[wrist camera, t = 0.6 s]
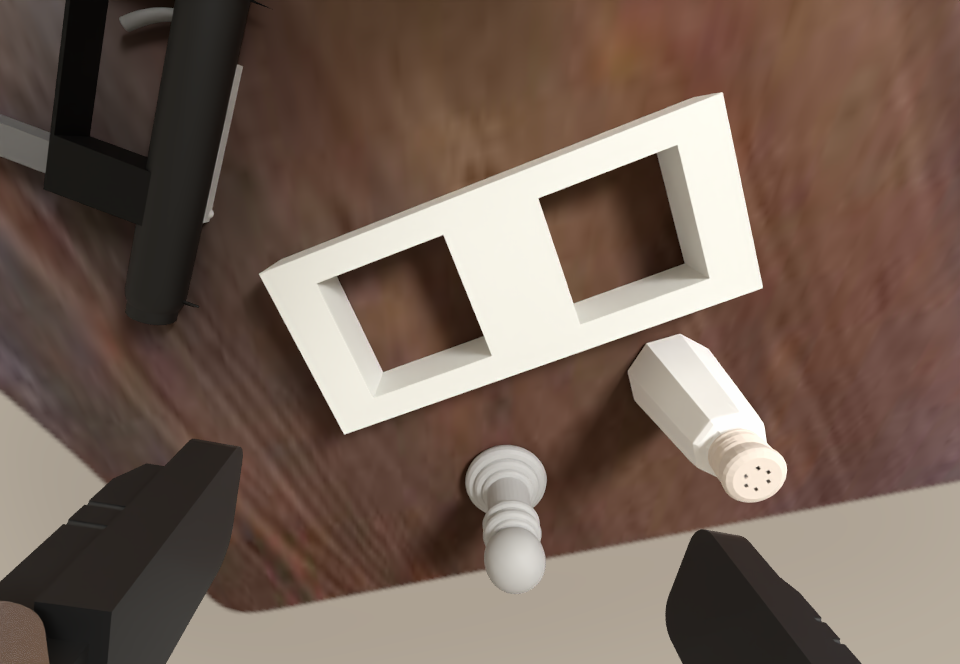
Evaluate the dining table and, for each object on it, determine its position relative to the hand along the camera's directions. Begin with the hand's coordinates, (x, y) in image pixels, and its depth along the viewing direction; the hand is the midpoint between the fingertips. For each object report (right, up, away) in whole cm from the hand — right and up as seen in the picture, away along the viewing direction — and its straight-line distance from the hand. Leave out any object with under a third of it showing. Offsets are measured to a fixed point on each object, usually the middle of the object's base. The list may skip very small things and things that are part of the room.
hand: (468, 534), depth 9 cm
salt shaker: (+12, +1, +25) cm, 27 cm away
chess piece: (+2, -6, +27) cm, 28 cm away
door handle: (-20, +16, +19) cm, 32 cm away
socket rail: (+2, +7, +22) cm, 23 cm away
